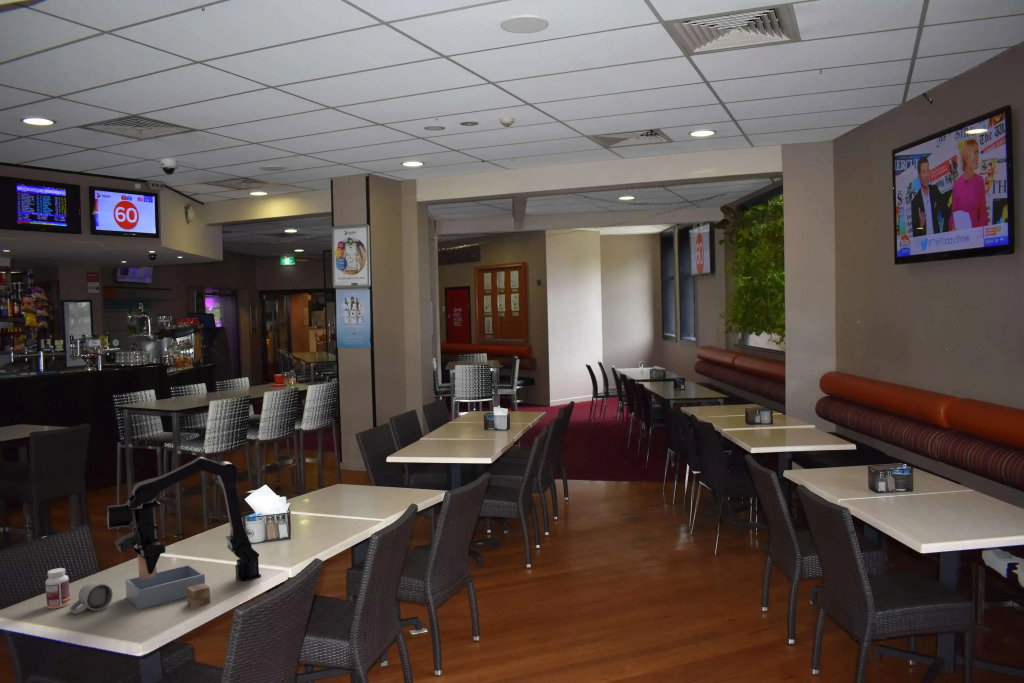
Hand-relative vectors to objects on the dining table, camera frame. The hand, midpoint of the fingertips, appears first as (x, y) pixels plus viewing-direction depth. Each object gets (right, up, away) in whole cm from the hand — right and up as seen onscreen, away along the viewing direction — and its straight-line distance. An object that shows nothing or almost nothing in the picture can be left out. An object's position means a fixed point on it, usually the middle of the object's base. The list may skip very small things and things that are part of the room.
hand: (148, 571), depth 230 cm
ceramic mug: (-14, -10, -6) cm, 18 cm away
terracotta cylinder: (0, -2, 0) cm, 2 cm away
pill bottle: (-27, -10, -2) cm, 29 cm away
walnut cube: (+18, -8, -5) cm, 21 cm away
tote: (+4, -8, +3) cm, 10 cm away
